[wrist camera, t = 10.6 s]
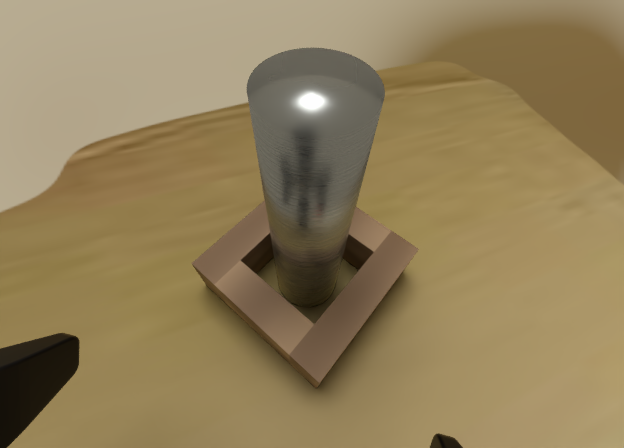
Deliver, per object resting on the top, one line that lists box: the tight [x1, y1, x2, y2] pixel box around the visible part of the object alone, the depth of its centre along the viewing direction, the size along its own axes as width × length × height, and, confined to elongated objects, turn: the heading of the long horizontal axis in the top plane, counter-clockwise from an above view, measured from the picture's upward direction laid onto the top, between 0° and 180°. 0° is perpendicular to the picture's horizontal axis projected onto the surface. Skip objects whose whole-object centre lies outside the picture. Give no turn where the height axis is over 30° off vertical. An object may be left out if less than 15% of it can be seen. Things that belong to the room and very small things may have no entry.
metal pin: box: [247, 48, 385, 307], centre depth 14 cm, size 4×4×13 cm
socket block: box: [191, 200, 419, 388], centre depth 18 cm, size 8×8×3 cm
